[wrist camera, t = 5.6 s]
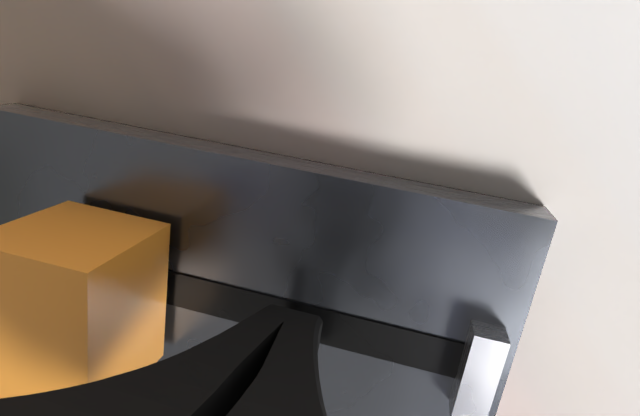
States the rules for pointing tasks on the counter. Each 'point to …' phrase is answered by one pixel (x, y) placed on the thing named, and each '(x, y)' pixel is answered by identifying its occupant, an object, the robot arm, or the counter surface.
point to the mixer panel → (307, 254)
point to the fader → (79, 297)
